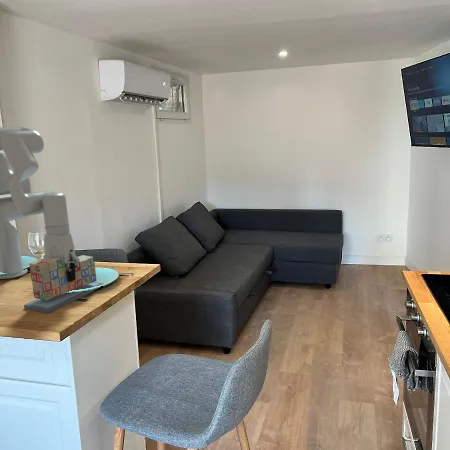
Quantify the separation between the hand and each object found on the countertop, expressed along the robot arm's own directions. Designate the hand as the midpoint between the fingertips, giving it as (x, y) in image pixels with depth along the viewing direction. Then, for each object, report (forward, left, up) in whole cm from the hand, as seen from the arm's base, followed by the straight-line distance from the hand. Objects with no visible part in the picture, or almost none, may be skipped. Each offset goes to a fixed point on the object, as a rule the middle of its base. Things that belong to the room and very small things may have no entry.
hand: (63, 279), depth 156 cm
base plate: (0, 0, -6) cm, 6 cm away
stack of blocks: (0, +1, -4) cm, 4 cm away
